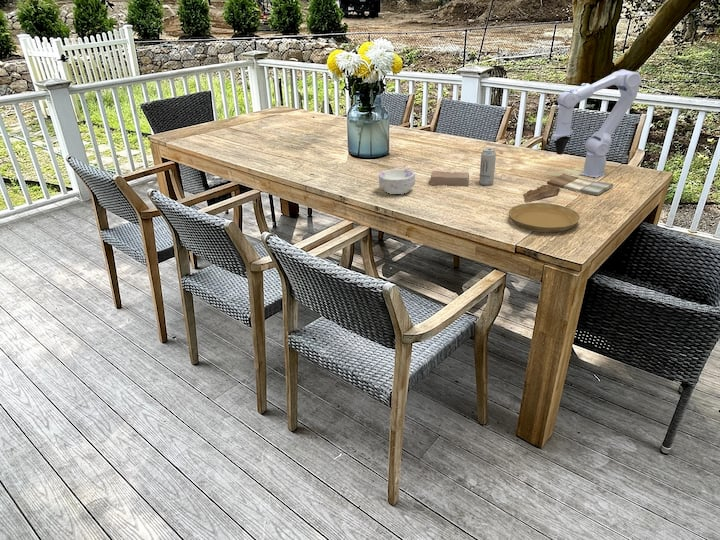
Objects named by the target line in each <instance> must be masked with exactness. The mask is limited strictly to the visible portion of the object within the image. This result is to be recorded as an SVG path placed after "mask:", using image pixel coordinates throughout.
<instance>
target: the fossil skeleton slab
mask: <svg viewBox="0 0 720 540" xmlns="http://www.w3.org/2000/svg"><path fill="white" fill-rule="evenodd" d="M560 190H561V188H560V187H557V186H552V185H548V184H543V185H541V186H540V187H538V188H535V189H529V190H527V192H525V193H523V195H522V196H523V199H524V200H523V201H524V204H526V203H531V202H532V201H536V200H540V199H544V198H547V197H548V198H549V197H551V196H552V197H553V196H558V195H559V192H560Z"/></svg>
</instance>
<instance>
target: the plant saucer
mask: <svg viewBox="0 0 720 540" xmlns="http://www.w3.org/2000/svg"><path fill="white" fill-rule="evenodd" d="M508 215H509V218H510V220H512V222H513V223H514V224H515V225H517V226H518V227H521V228H523V229H525V230H527V229H528V231H532V232H537V233H538V232H539V233H558V232H563V231H567V230H569V229H571V228H573V227H574V226H575V225H577V224H578V223H579V221H580V219H581V215H580V214H579V213H578V212H577V211H576V210H574V209H572V208H570V207H567V206H563V205H560V204H555V203H550V202H549V203H548V202H526V203H521V204H518V205H514V206H513V207H511V208H510V209H509V210H508Z"/></svg>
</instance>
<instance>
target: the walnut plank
mask: <svg viewBox="0 0 720 540" xmlns="http://www.w3.org/2000/svg"><path fill="white" fill-rule="evenodd" d="M578 178H579V177H578V176H574V175H570V174H566V173H561V174H560V175H558V176H556V177H554V178H552V179H550V180H547V182H546V185H552V186H557V187H560V189H563V186H564V185H566V184H568V183H570V182H572V181H574V180H576V179H578Z"/></svg>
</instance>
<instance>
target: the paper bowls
mask: <svg viewBox="0 0 720 540" xmlns="http://www.w3.org/2000/svg"><path fill="white" fill-rule="evenodd" d="M378 184H379V185H378V186H379V188H381V189H383V190H384V192H385V193H386V192H387V193H386V194H388V193H391V194H401V195H405V194H407V193H409V191H410V190H411V189H412V188H413V187H414V186H415V185H416V173H415V172H414V171H413V170H410V169H406V168H392V169H387V170H384V171H383V170H382V171H381V172H380V173H379V174H378ZM404 193H405V194H404ZM391 194H390V195H391Z"/></svg>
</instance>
